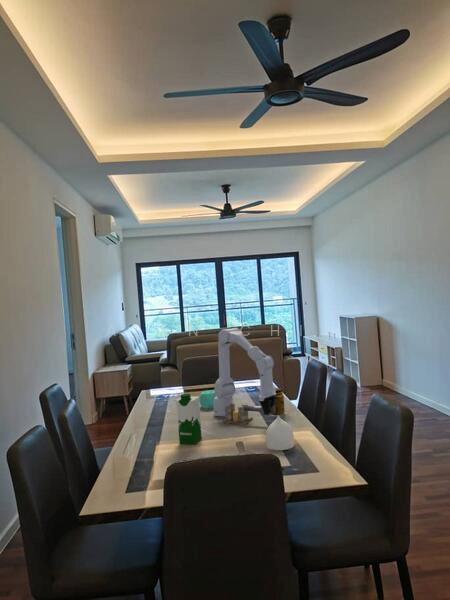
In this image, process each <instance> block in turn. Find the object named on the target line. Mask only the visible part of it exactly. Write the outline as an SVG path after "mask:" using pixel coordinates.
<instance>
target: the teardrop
mask: <svg viewBox="0 0 450 600" xmlns="http://www.w3.org/2000/svg"><path fill="white" fill-rule="evenodd" d="M265 446H266V448H267V449H269V450H275V451H285V450H286V451H287V450H290V449H292V448H294V447H295V439H294V432H293V430H292V427H291V426H290V425H289V423H288V422H286V421H285V420H283V419H282V418H281V417H280V415H278V416H276V418H275V420H274V421H273V422H271V424H270V425H268V427H267V429H266V432H265Z"/></svg>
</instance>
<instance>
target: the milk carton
mask: <svg viewBox="0 0 450 600" xmlns="http://www.w3.org/2000/svg"><path fill="white" fill-rule="evenodd" d="M199 400H200V396H198V395H197V396H191V394H190V393H182V394H180V397H179V398H177V399H176V400H175V404H176V410H177V411H176V412H177V425H178V426H177V427H178V441H179V445H197V444H198V443H199V442H200V441H201V440H202V439H203V437H202V427H201V426H202V425H201V411H200V402H199Z"/></svg>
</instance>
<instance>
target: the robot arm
mask: <svg viewBox="0 0 450 600" xmlns="http://www.w3.org/2000/svg"><path fill="white" fill-rule="evenodd" d="M234 343H236V344H238V345H239V346H240V347H242V348H243V349H244V350H245V351H246V352H247V356H248V357H249V358H250V359H251V360H252V361H253V362H254V363H255V365H256V368H257V370H258V371H257V372H258V374H259V381H260V382H259V383H260V393H259V396H258V402H259V404H260V407H262V408H263V411H264V412H263V414H264V415H265V416H270V415H269V413H270V407H271V406H274V403H275V400H276V398H277V397H276V396H273V395H276V391H275V390H273V389H274V379H273V376H274V375H273V368H274V367H275V359H274V358H273V357H272V356H271V355H267V354H266V353H264V352H263V351H262V350H261V349H260V348H259V346H256V345H252V343H251V342H250V341H248V339H247V337H245V336H244V335H243V331H241V329H240V328H238V327H233V328H226V329H220V331H219V332H218V342H217V346H218V349H217V350H218V373H219V375H218V379H217V380H216V381H215V384H214V389H213V391H214V393H215V395H216V396H217V397H215V398H214V401H213V406H214V408H213V416H215V417H225V406H229V404H230V403H233V404H234V399H233V397H234V394H235V392H236V386H235V380H234V379H233V378H232V377H231V363H230V362H231V361H230V360H231V359H230V347H231V346H232V345H233V344H234Z"/></svg>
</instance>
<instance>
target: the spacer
mask: <svg viewBox="0 0 450 600" xmlns="http://www.w3.org/2000/svg"><path fill="white" fill-rule="evenodd" d="M233 421H239V416H238V408H237V409H236V408H235V411H234V412H233Z"/></svg>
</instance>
